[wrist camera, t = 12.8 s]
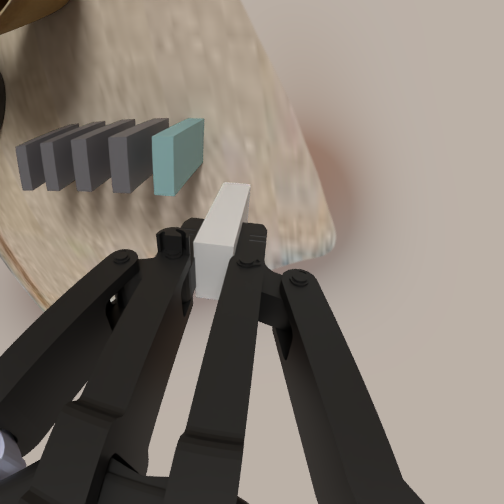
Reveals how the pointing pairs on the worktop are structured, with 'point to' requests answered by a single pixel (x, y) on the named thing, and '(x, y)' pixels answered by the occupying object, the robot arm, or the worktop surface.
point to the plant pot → (25, 12)
